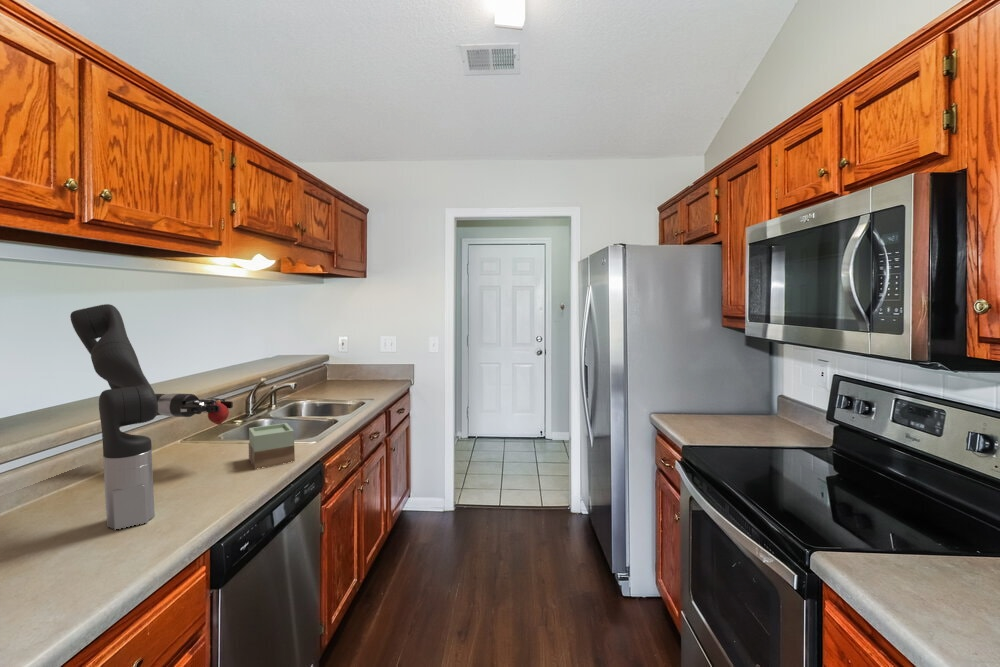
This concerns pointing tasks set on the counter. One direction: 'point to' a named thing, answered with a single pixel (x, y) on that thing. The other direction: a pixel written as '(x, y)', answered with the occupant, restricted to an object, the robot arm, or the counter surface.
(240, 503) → the counter surface
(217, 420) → the onion
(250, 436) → the tower top
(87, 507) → the counter surface
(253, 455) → the tower base
